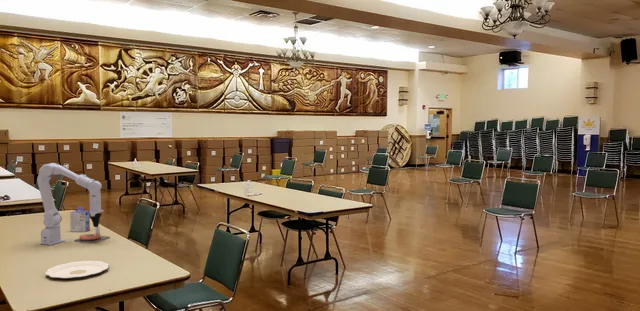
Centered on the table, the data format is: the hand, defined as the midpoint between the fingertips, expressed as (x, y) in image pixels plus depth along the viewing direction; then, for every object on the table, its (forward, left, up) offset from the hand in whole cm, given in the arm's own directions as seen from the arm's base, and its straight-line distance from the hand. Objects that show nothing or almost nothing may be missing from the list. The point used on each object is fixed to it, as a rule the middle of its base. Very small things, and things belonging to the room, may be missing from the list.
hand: (96, 226), depth 270 cm
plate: (-49, -33, -9) cm, 60 cm away
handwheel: (+1, +6, -7) cm, 9 cm away
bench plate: (+2, +5, -8) cm, 10 cm away
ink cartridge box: (+18, +29, -9) cm, 35 cm away
